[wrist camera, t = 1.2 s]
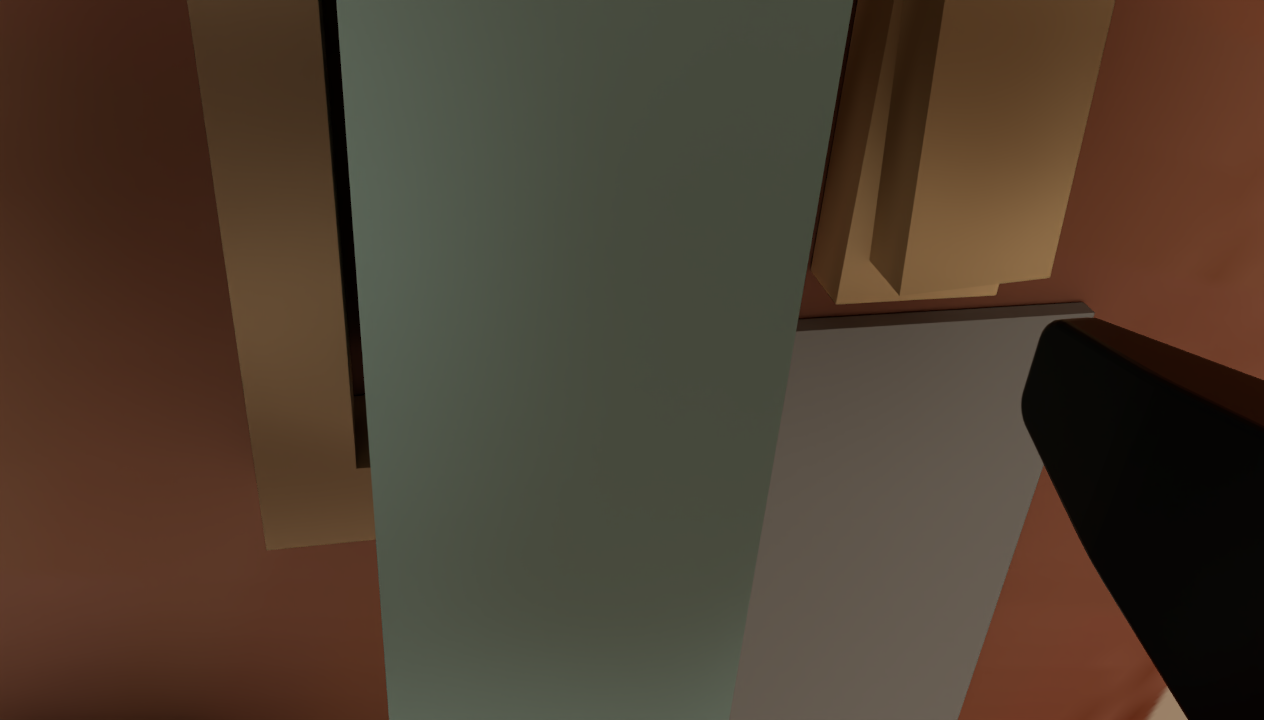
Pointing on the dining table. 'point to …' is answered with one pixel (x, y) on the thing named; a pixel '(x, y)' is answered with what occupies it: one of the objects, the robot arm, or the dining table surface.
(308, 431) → the rack
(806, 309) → the dining table surface
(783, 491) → the mat
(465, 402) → the panel
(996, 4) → the offcut stack
